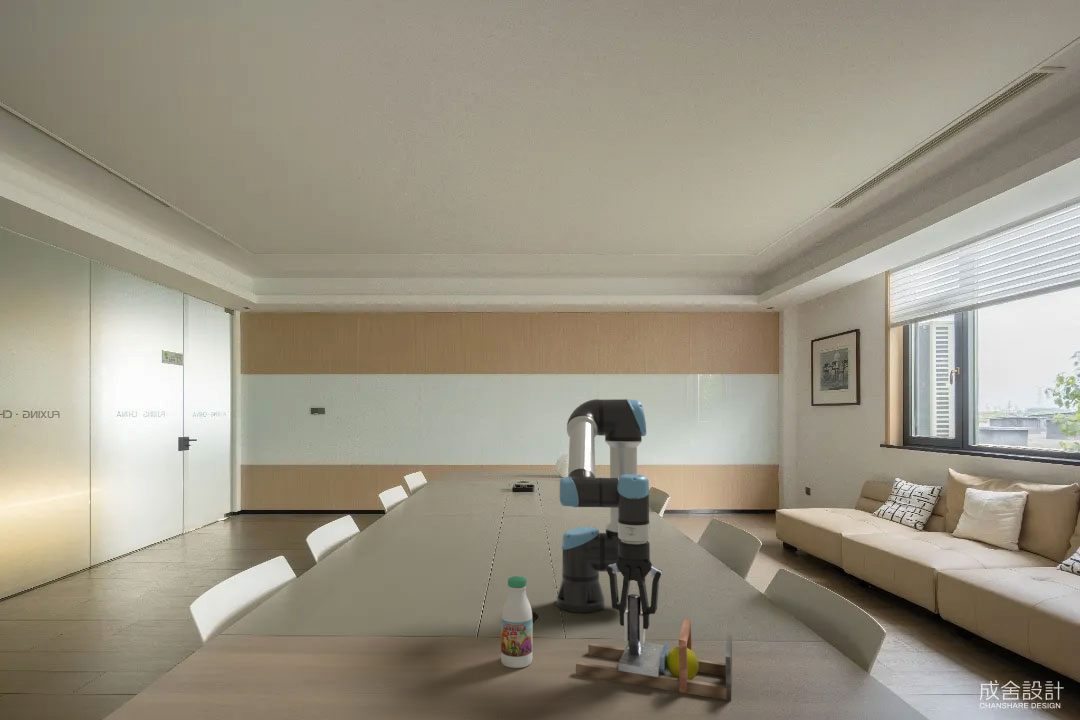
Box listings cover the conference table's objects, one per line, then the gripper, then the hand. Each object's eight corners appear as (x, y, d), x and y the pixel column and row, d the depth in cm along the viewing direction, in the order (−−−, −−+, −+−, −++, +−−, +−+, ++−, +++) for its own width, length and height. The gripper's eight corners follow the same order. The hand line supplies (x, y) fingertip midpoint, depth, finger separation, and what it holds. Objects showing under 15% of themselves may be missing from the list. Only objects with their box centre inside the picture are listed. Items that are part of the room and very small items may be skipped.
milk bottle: (500, 655, 143) (501, 574, 144) (531, 654, 144) (531, 573, 145) (501, 669, 135) (501, 583, 137) (533, 668, 136) (533, 582, 137)
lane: (575, 674, 133) (575, 625, 134) (589, 652, 145) (589, 607, 146) (731, 701, 121) (730, 646, 122) (732, 674, 133) (731, 625, 134)
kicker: (618, 681, 129) (617, 604, 130) (629, 656, 142) (629, 586, 143) (663, 688, 126) (662, 610, 127) (670, 662, 138) (669, 591, 140)
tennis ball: (661, 675, 133) (660, 644, 133) (685, 670, 135) (685, 639, 136) (679, 689, 126) (679, 656, 127) (705, 683, 129) (704, 651, 129)
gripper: (597, 540, 136) (597, 641, 134) (665, 547, 130) (666, 652, 129) (605, 534, 143) (605, 630, 141) (669, 539, 137) (671, 639, 136)
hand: (634, 640), depth 135 cm, fingers closed on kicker, 3 cm apart
